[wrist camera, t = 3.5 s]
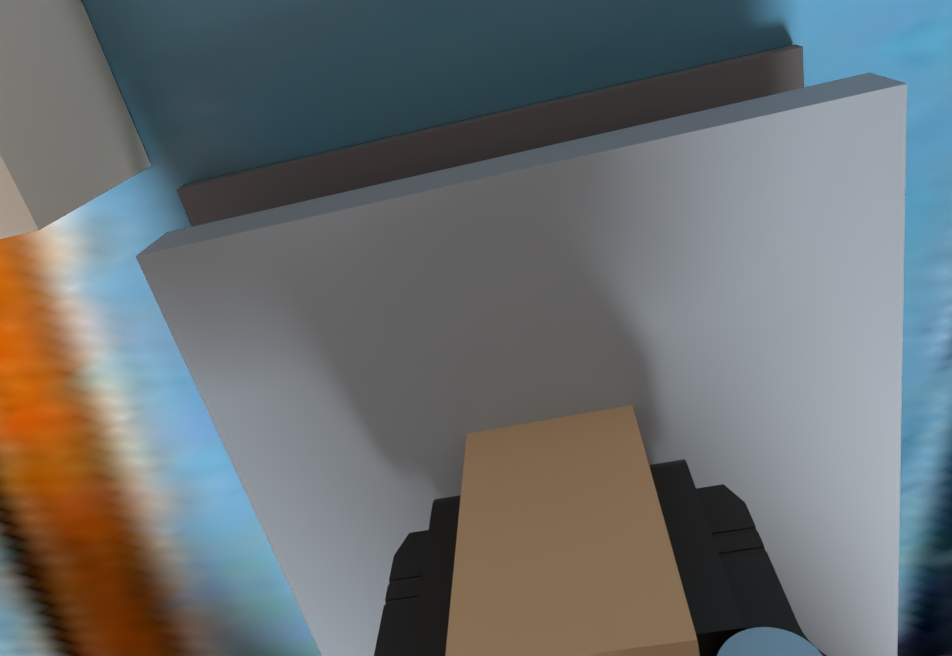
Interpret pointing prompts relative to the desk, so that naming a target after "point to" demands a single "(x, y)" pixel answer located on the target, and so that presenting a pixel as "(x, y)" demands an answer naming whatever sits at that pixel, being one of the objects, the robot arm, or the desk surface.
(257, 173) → the mat
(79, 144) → the white rectangular open box
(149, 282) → the lid
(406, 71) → the desk surface
